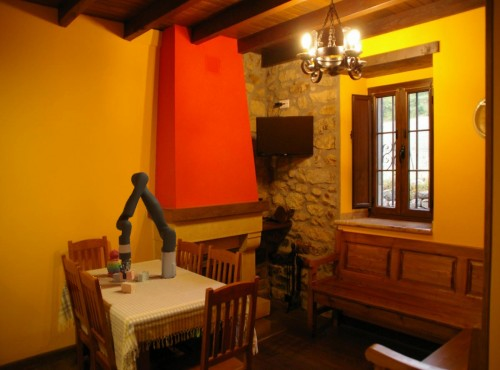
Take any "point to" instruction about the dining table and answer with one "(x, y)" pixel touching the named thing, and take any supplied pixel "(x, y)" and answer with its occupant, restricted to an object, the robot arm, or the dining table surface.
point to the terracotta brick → (127, 276)
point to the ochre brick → (128, 287)
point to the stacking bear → (113, 263)
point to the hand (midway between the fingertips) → (125, 278)
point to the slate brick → (117, 278)
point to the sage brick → (143, 276)
